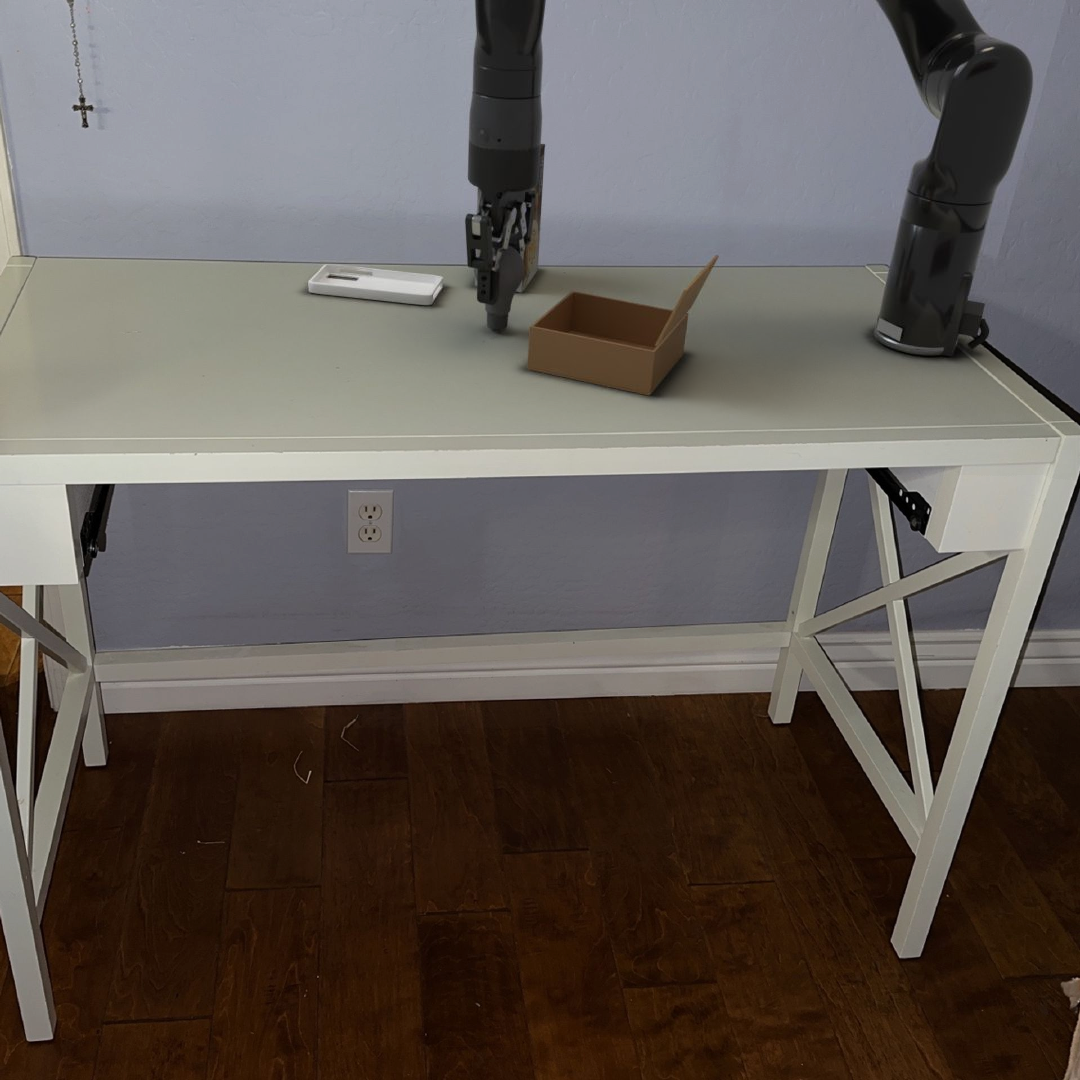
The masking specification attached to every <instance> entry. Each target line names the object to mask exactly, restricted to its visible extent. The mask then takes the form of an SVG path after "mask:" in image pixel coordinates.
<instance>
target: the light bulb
mask: <svg viewBox="0 0 1080 1080" xmlns="http://www.w3.org/2000/svg"><path fill="white" fill-rule="evenodd" d="M492 250H493V254H494V249H492ZM498 271H499V285H498V301H497V302H496V303H495V304H493V305H489V304H484V309H485V312H486V325H487V328H489V329H490V330H492V331H493V332H495V333H500V332H502V331H503V330H505V329H506V328H508V323H509V322H508V321H509V313H510V312H511V308H512V303H513V299H514V296H515V294H516V293H517V292H516V290H517V289H518V287H519V285H520V284H521V282H522V280H523V277H524V271H525V267H524V262H523V259H522V257H521V255H520V254H519V253H518V251H517V250H515V249H514V248H513V247H511V246H509V245H508V248H507V250H505V251H503V252H502V256H501V261H500V266H499V270H498ZM473 272H474V278H475V277H476V280H477V279H478V269H476V268H473Z"/></svg>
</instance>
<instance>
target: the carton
mask: <svg viewBox="0 0 1080 1080" xmlns="http://www.w3.org/2000/svg"><path fill="white" fill-rule="evenodd" d="M673 310H674V309H669V308H664V307H659V306H653V305H649V304H643V303H638V302H633V301H627V300H623V299H622V300H621V299H617V298H612V297H607V296H601V295H595V294H592V293H591V294H590V293H585V292H582V291H575V290H571V291H570V292H569V293H568V294H567V295H565V296H564V297H562V299H560V300H559V301H557V303H556V304H555V305H553V306H552V307H551V308H550V309H549V310H548V311H547V312H545V313H544V314H543V315H542V316H540V317H539V318H538V319H537V320H536V321H534V322H533V323H532V324H531V325H530V326H529V333H528V334H529V335H528V350H527V351H528V352H527V366H526V367H527V368H526V369H527V370H529V371H533V372H538V373H543V374H547V375H552V376H556V377H557V376H558V377H561V378H566V379H569V380H570V379H571V380H575V381H579V382H585V383H589V384H594V385H598V386H603V387H608V388H612V389H618V390H622V391H626V392H630V393H635V394H639V395H645V396H651V395H652V394H653V393H654V391H655V390H656V389H657V388H658V386H659V385H660V384H661V383H662V381H663V380H664V379H665V377H666V376H667V375H668V374H669V373H670V371H671V370H672V369H673V368H674V367H675V365H676V364H677V363H678V362H679V360H680V359H681V358H682V357H683V355H684V351H685V343H686V338H687V337H686V336H687V329H688V322H689V312H687V313H686V314H685V316H684V317H683V318H682V319H681V320H680V321H679V323H678V324H677V325H676V326H675V327H674V328H673V329H672V331H671V332H670V333H669V334H668V335H667V336H666V337H665V339H664V340H663V341H662V342H661V343H660V344H659V345H658V347H657V346H655V344H656V342H657V340H658V338H659V337H660V335H661V333H662V331H663V329H664V327H665V325H666V323H667V321H668V320H669V318H670V316H671V314H672V312H673Z"/></svg>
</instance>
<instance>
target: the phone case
mask: <svg viewBox="0 0 1080 1080" xmlns="http://www.w3.org/2000/svg"><path fill="white" fill-rule="evenodd" d="M341 270H347V271H348V270H349V271H358V272H367V273H371V274H366V273H365V274H363V273H356V272H355V273H354V272H344V271H341ZM330 276H331V277H339V278H331V277H330ZM340 277H341V279H340ZM342 278H349V279H342ZM350 279H357V280H350ZM307 284H308V286H307V287H308V292H309V293H311V294H316V295H317V294H318V295H319V294H320V295H327V296H336V297H345V298H355V299H364V300H374V301H383V302H391V303H401V304H410V305H420V306H431V305H433V303H434V301H435V300H436V299H437V297H438V295H439V294H440V292H442V289H443V288H444V277H443V276H441V275H437V274H429V273H428V274H427V273H418V272H409V271H400V270H390V269H380V268H372V267H371V268H370V267H361V266H352V265H342V264H334V263H325V264H323V266H321V268H319V269H318V271H317V272H316V273H315V274H314V275H313V276H312V277H311V278H310V279H309V280H308V281H307Z"/></svg>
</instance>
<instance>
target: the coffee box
mask: <svg viewBox="0 0 1080 1080" xmlns="http://www.w3.org/2000/svg"><path fill="white" fill-rule="evenodd" d="M545 151H546V143H541V150H540V167H539V182H538V184H537V186H536V187H534V188H533V189H530V190H535V191H536V201H535V209H534V218H533V226H532V235H531V241H530V244H529V245H526V244H525V250H524V253H523V254H520V255H521V257H522V259H523V262H524V267H525V271H524V277H523V280H522V282H521V284H520V285H519V287H518V289H517V290H516V292H515V293H524V291H525V290H526V288H527V287H528V285H529V284H530V282H531V281H532V280H533V278H534V276H535V275H536V274H537V272H538V270H539V255H540V241H541V240H540V238H541V223H542V222H541V220H542V205H543V204H542V203H543V202H542V201H543V187H544V167H545V154H546V153H545ZM476 197H477V199H476V213H477V212H478V207H479V203H480V197H481V191H480V189H479V188H478V187H477V196H476ZM499 240H500V239H499V238H493V237H492V241H499ZM476 253H477V249H476ZM474 287H476V288H477V280H476V277H475V276H474Z"/></svg>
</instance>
